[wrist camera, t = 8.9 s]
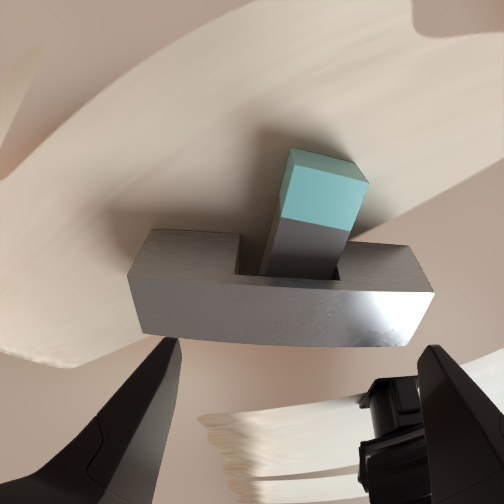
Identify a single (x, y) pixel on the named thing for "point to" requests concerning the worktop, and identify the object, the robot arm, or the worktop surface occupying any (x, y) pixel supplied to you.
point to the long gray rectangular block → (276, 295)
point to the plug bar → (312, 216)
